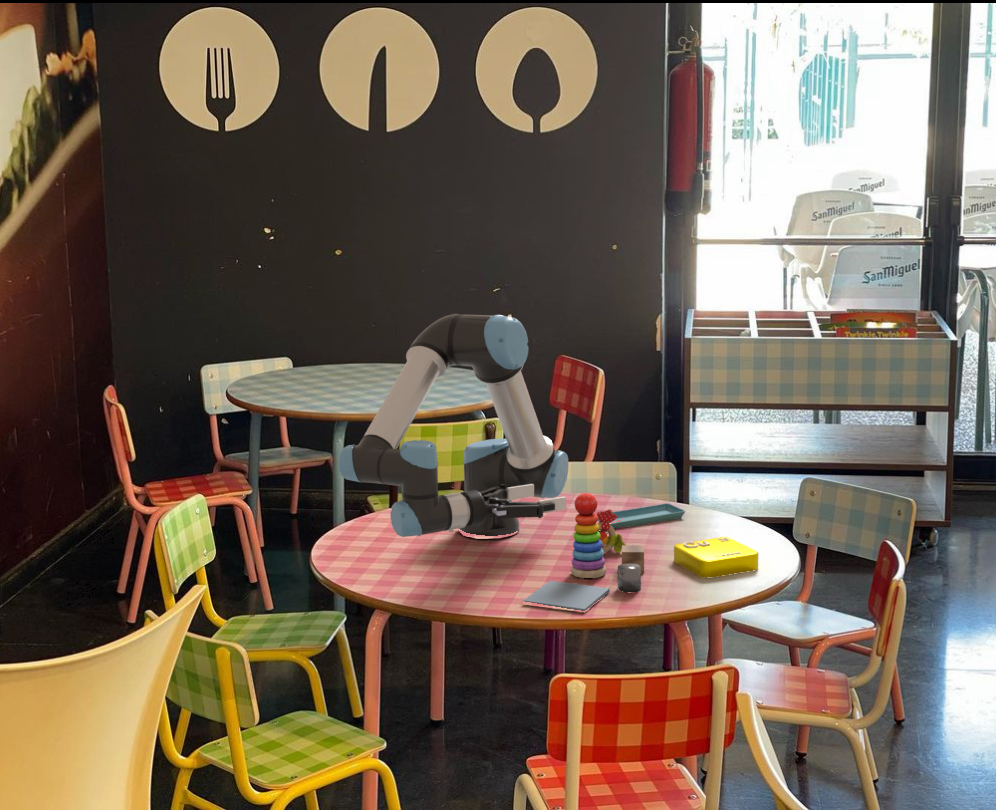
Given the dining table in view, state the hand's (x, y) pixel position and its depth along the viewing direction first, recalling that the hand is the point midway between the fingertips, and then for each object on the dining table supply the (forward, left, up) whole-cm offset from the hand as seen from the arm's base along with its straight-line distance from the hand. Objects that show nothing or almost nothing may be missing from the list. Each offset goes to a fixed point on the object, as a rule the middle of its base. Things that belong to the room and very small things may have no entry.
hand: (549, 496), depth 291 cm
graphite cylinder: (+18, +2, -20) cm, 27 cm away
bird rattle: (+4, +24, -20) cm, 32 cm away
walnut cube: (+14, +15, -20) cm, 29 cm away
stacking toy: (+6, +8, -20) cm, 22 cm away
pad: (+8, -9, -20) cm, 23 cm away
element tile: (+30, +25, -20) cm, 44 cm away
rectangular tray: (0, +52, -20) cm, 56 cm away
